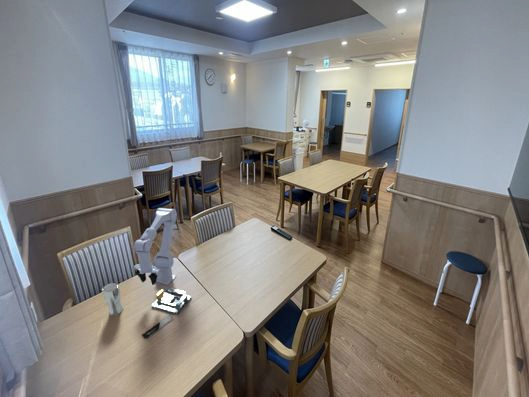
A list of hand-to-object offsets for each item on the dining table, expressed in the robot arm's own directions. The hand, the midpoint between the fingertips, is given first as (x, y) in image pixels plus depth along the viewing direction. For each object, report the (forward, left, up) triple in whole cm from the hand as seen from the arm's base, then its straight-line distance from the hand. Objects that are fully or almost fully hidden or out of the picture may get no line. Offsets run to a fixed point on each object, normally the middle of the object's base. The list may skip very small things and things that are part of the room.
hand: (149, 282), depth 133 cm
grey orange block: (+9, 0, -9) cm, 13 cm away
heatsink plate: (+12, 0, -10) cm, 16 cm away
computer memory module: (+16, -14, -11) cm, 24 cm away
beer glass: (-11, -13, -11) cm, 20 cm away
